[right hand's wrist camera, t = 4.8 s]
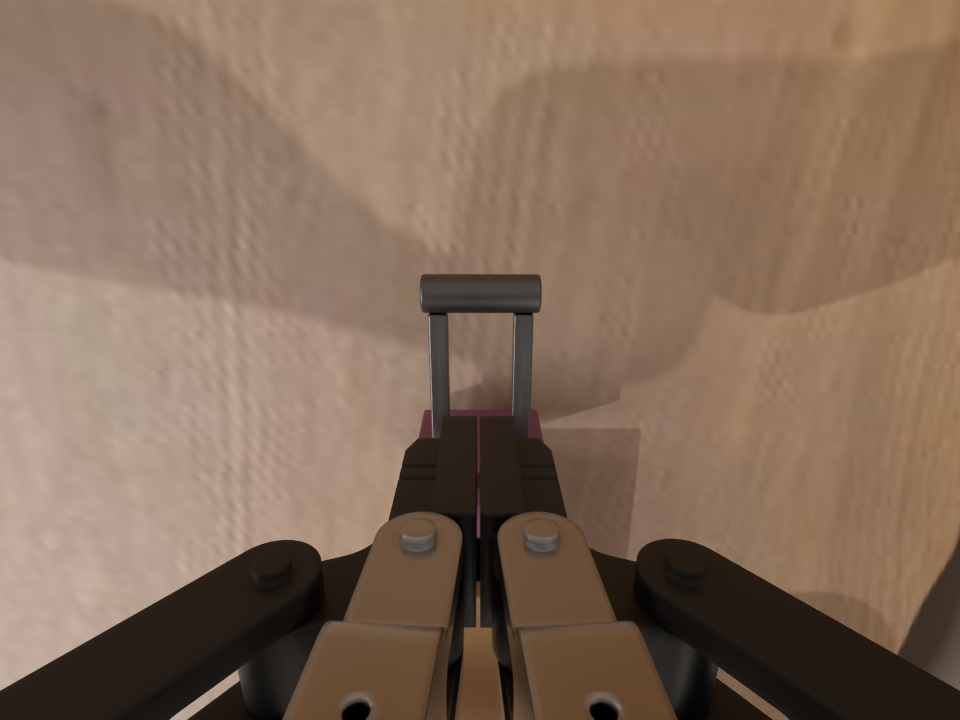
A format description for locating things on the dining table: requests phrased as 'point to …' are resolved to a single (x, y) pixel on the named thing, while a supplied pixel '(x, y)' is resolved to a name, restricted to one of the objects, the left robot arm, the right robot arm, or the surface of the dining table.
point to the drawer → (522, 301)
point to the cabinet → (479, 673)
